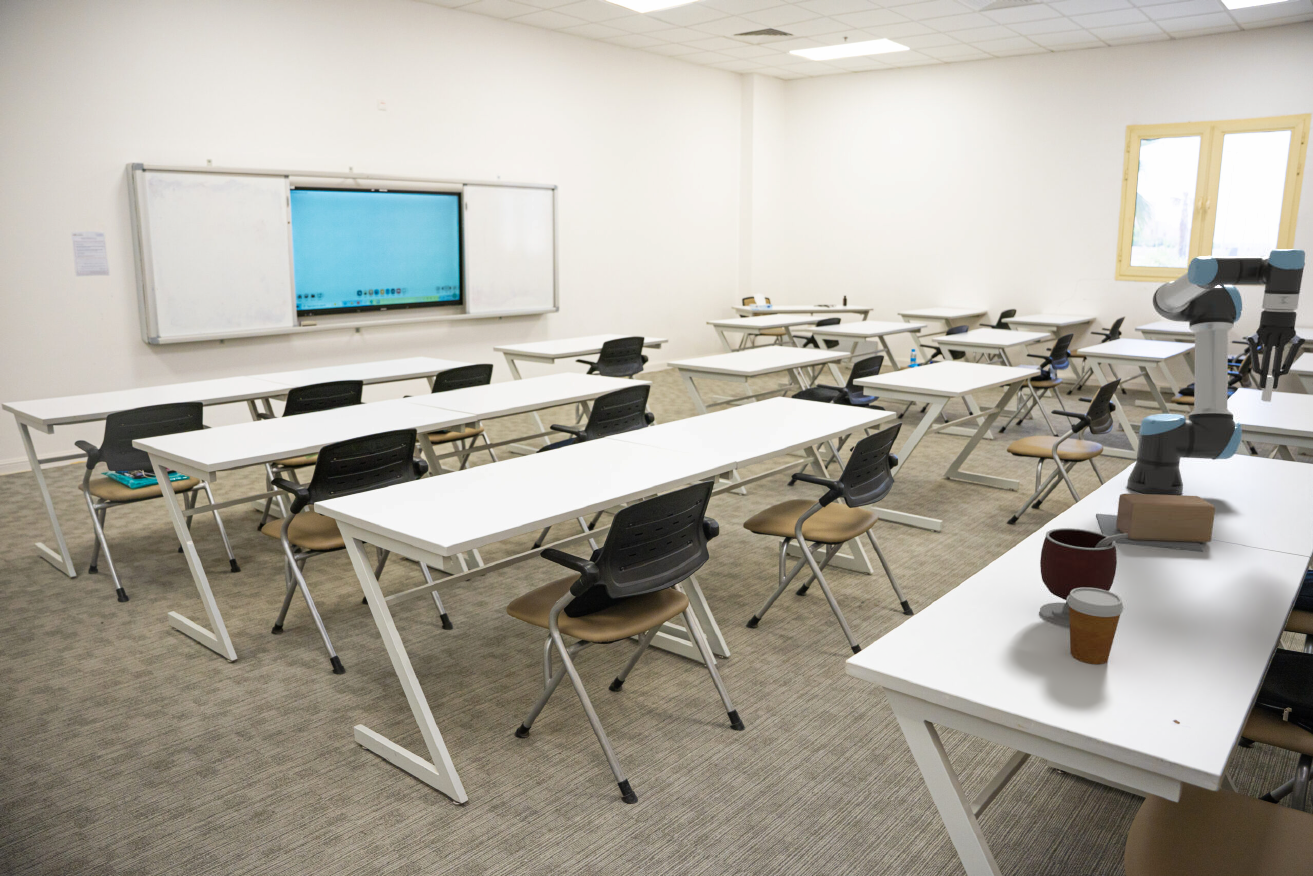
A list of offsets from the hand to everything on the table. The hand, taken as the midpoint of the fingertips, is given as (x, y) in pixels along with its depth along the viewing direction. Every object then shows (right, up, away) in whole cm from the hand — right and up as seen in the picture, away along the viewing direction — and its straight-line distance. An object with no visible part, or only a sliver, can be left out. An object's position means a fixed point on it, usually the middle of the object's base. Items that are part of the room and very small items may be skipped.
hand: (1265, 400), depth 233 cm
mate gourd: (-74, -47, -51) cm, 102 cm away
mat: (-30, -35, +2) cm, 46 cm away
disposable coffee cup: (-80, -51, -68) cm, 117 cm away
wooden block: (-19, -31, -5) cm, 36 cm away
